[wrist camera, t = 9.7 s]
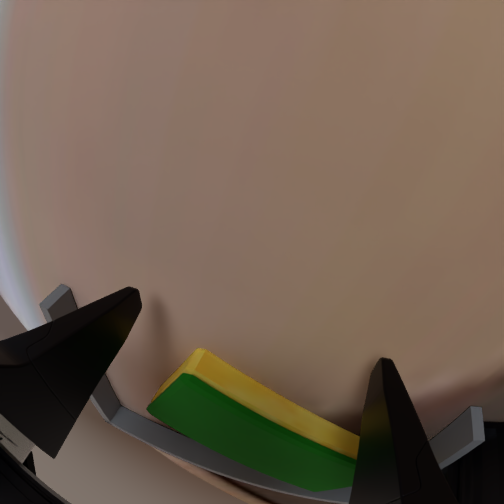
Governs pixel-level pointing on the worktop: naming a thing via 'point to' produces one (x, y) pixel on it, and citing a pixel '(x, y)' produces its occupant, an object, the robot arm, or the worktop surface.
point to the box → (103, 397)
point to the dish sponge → (255, 425)
